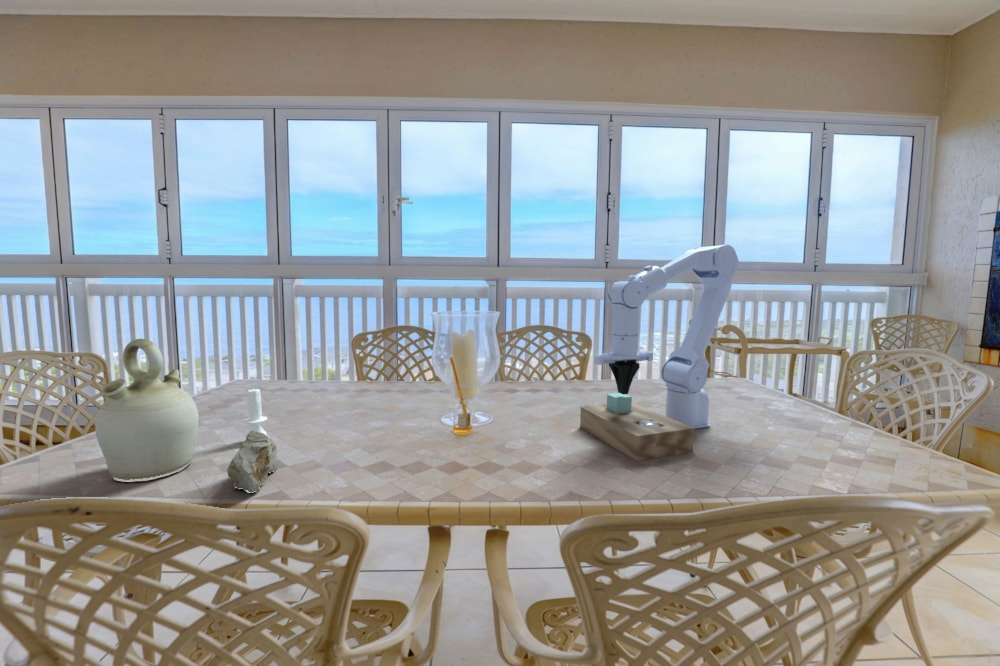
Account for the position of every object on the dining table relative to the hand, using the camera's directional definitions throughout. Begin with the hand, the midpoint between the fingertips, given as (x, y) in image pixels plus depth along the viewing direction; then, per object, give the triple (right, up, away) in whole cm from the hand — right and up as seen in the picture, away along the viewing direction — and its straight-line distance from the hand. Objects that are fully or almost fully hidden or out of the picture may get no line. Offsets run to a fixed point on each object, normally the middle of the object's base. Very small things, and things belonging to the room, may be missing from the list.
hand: (623, 393), depth 107 cm
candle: (-82, -10, -3) cm, 83 cm away
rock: (-72, -13, -25) cm, 77 cm away
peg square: (-1, -6, +2) cm, 6 cm away
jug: (-94, -12, -19) cm, 96 cm away
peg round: (+3, -10, -8) cm, 13 cm away
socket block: (+1, -10, -3) cm, 10 cm away
